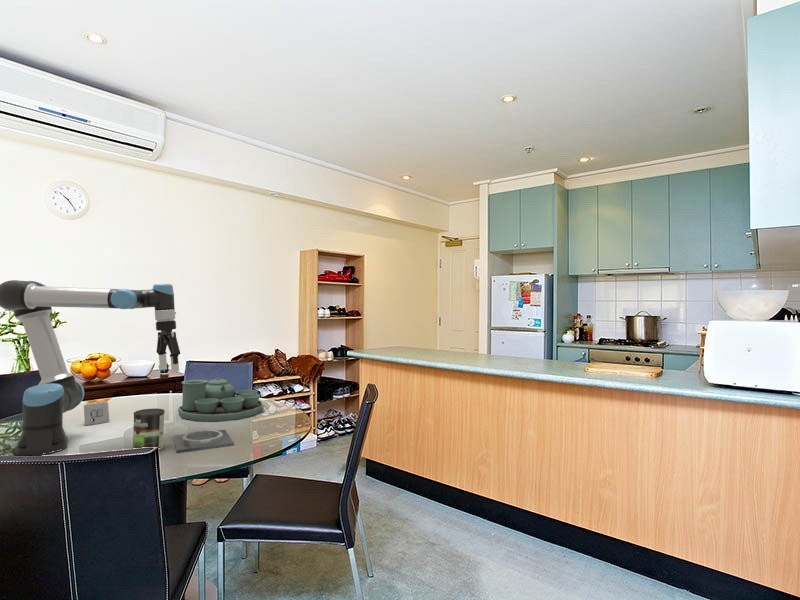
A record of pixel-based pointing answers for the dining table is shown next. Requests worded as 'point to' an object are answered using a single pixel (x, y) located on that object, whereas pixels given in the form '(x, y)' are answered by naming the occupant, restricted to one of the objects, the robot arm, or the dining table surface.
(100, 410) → the electrical switch
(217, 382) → the tea set
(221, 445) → the flange base
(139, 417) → the coffee can
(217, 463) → the dining table surface
